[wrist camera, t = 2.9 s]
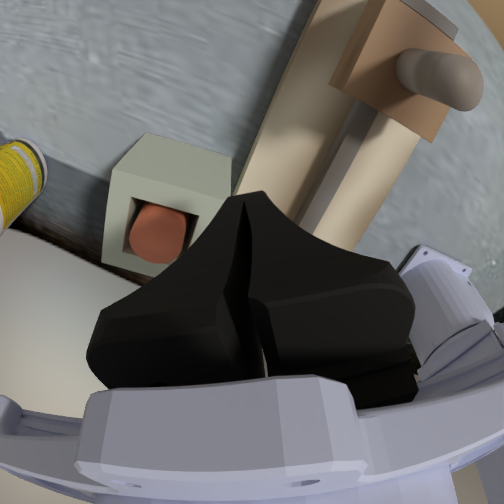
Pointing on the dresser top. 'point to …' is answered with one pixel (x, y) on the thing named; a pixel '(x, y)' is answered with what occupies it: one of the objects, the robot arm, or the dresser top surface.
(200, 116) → the dresser top surface
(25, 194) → the supplement bottle
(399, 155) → the rail board
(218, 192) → the cabinet
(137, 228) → the button
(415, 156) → the dresser top surface
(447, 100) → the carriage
